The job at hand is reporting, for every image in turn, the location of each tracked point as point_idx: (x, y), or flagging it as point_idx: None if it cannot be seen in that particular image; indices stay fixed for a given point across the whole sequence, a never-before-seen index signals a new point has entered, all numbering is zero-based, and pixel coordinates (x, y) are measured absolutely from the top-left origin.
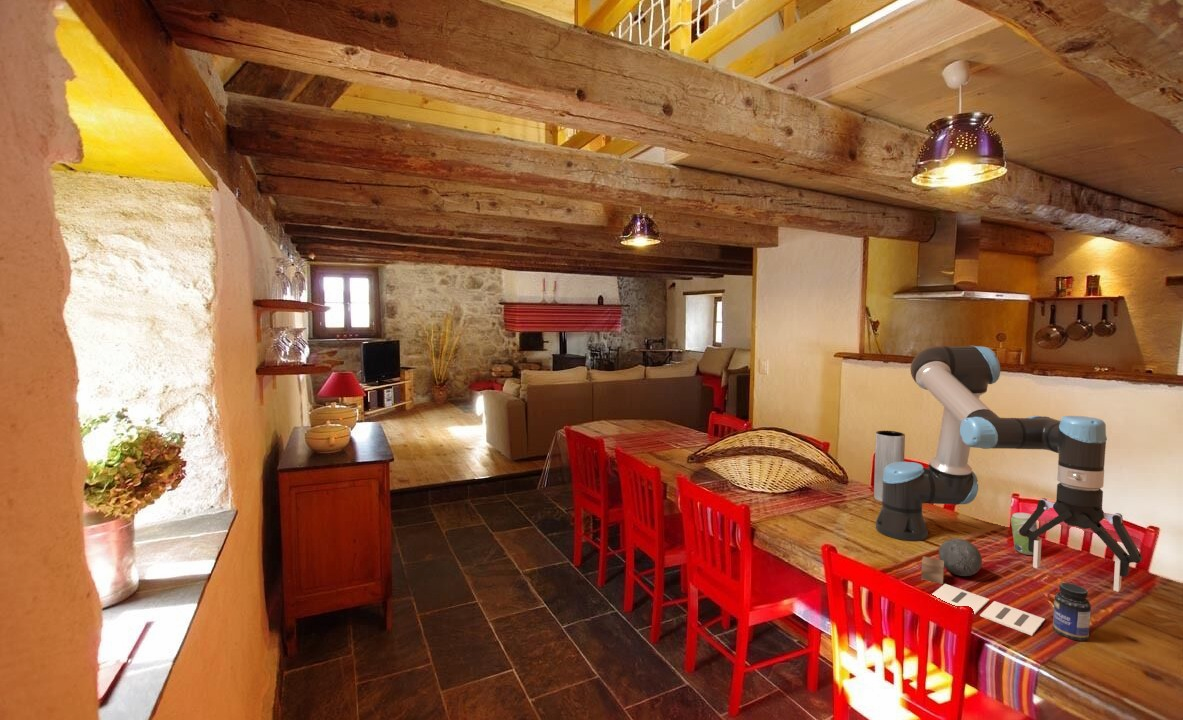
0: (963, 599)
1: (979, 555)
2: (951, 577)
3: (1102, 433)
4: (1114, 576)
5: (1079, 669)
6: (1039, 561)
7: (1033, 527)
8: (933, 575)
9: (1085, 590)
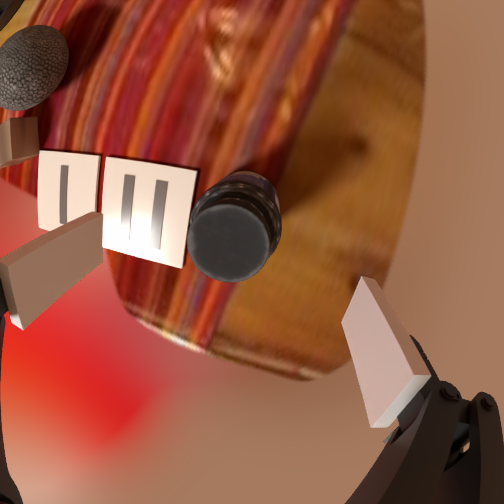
0: (69, 199)
1: (39, 56)
2: (46, 101)
3: None
4: (354, 365)
5: (255, 335)
6: (90, 238)
7: None
8: (19, 160)
9: (263, 244)
